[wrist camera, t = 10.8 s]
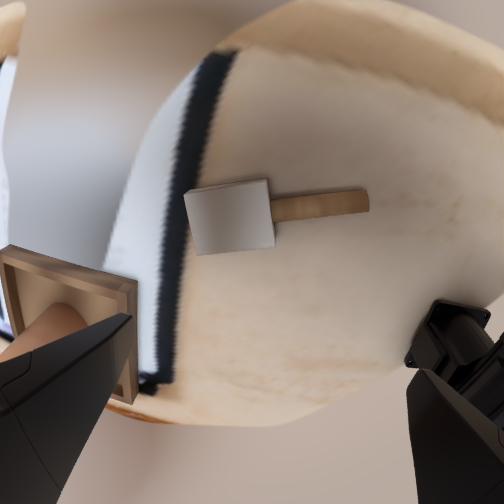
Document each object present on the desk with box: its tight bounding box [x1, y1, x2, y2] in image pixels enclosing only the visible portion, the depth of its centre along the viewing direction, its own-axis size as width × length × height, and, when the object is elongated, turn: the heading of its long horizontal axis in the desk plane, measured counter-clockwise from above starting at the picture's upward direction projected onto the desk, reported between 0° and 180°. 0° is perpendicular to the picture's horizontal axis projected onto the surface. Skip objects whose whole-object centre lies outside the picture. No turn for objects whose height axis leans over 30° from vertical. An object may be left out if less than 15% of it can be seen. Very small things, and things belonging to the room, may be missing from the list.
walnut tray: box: [0, 244, 139, 405], centre depth 25 cm, size 14×13×2 cm
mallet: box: [184, 178, 369, 256], centre depth 20 cm, size 11×4×2 cm, turn 99°
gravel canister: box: [0, 303, 87, 362], centre depth 20 cm, size 5×5×12 cm
